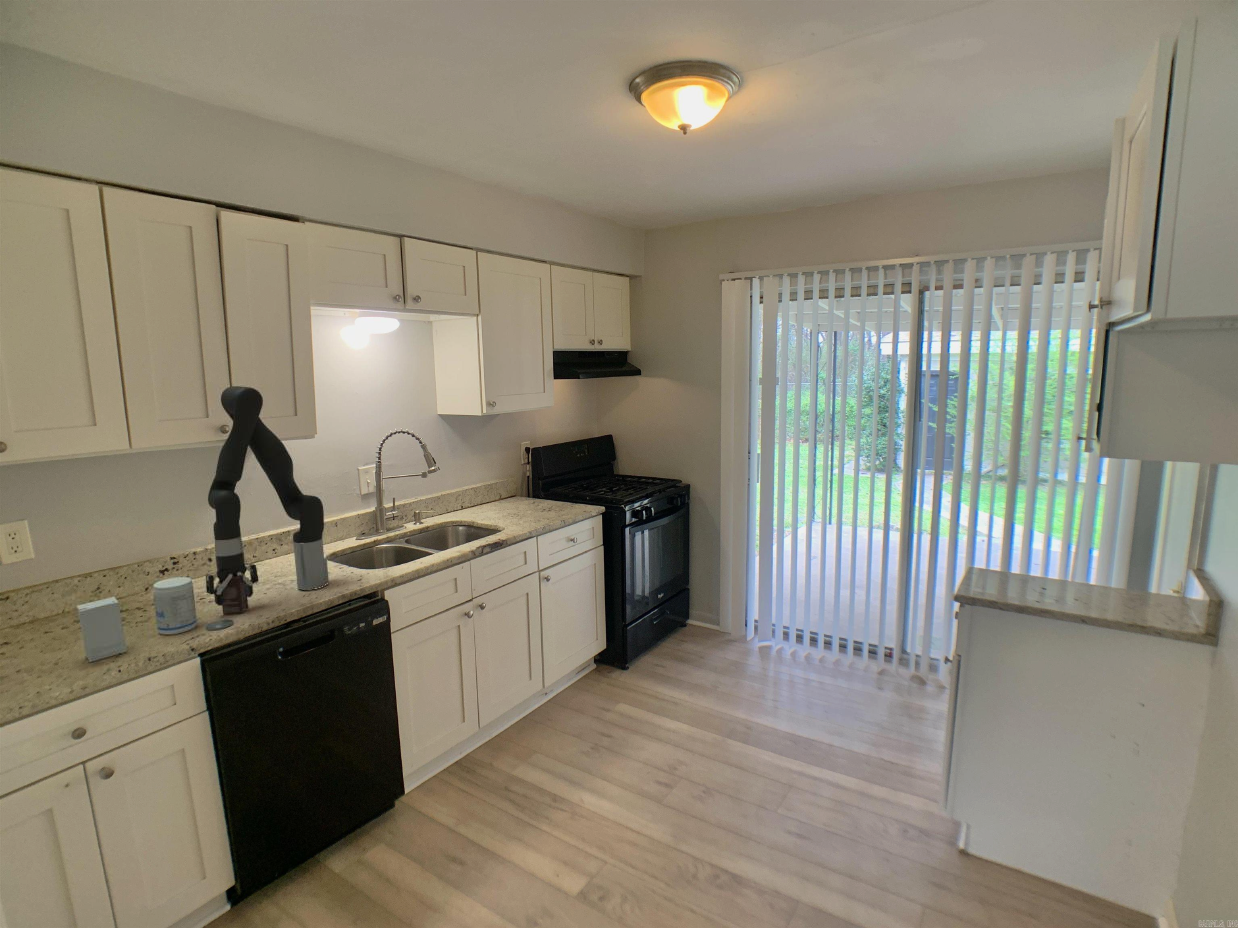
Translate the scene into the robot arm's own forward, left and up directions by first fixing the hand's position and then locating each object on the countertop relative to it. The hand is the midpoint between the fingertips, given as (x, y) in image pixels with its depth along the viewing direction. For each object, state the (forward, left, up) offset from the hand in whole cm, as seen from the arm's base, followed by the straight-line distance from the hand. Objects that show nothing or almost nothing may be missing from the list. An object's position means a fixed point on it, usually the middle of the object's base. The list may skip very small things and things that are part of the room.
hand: (234, 600), depth 194 cm
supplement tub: (+16, 0, -4) cm, 16 cm away
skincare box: (+34, +3, -4) cm, 34 cm away
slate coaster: (+8, +8, -4) cm, 12 cm away
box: (0, 0, -4) cm, 4 cm away
